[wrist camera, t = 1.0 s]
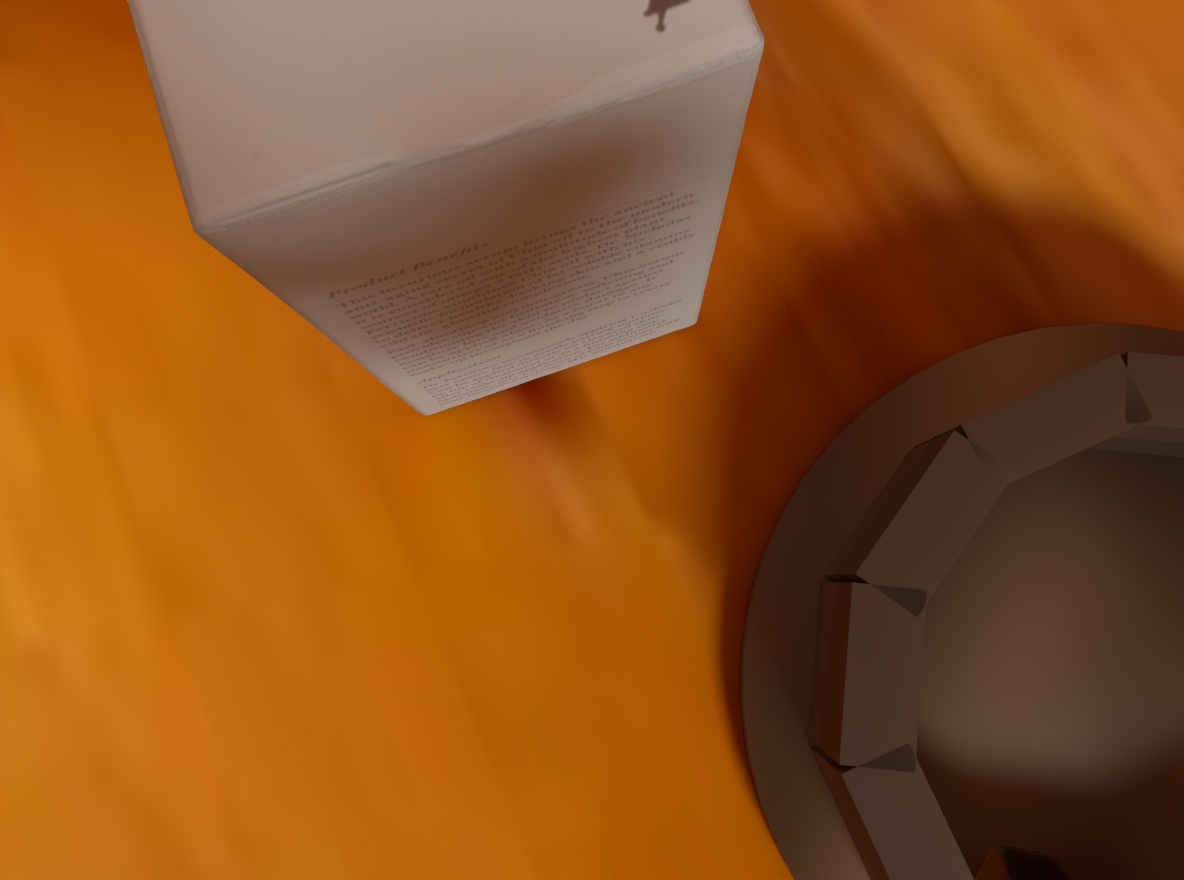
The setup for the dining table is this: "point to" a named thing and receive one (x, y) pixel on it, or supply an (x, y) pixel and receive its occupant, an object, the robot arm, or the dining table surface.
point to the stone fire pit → (982, 620)
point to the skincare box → (460, 169)
